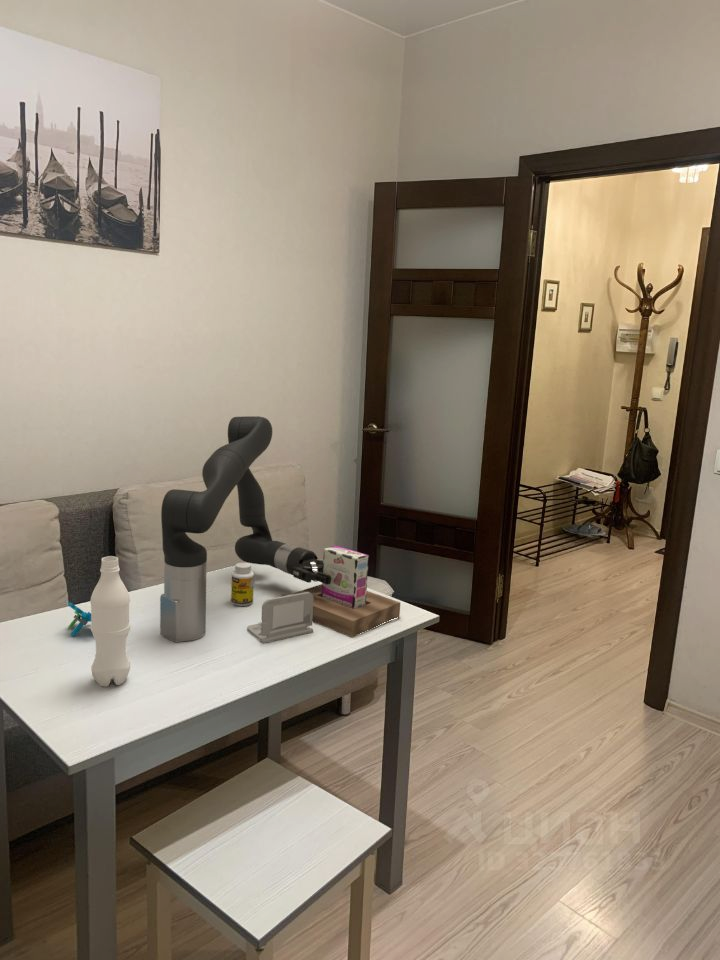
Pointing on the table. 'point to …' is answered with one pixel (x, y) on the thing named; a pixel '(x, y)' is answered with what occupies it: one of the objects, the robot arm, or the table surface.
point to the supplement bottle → (242, 585)
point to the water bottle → (110, 625)
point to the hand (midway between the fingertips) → (341, 576)
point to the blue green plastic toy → (79, 618)
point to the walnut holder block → (352, 612)
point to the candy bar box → (345, 576)
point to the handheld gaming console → (284, 618)
